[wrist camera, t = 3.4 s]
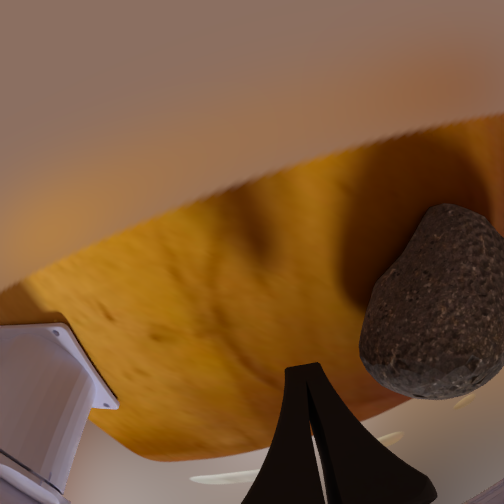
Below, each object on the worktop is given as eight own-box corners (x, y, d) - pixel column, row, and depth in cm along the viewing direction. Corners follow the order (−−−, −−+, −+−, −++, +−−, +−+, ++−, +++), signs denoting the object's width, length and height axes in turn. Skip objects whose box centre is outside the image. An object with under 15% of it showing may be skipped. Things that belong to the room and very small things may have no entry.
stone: (460, 202, 16) (478, 142, 8) (521, 306, 13) (584, 330, 5) (352, 285, 20) (288, 292, 12) (408, 385, 17) (381, 462, 9)
